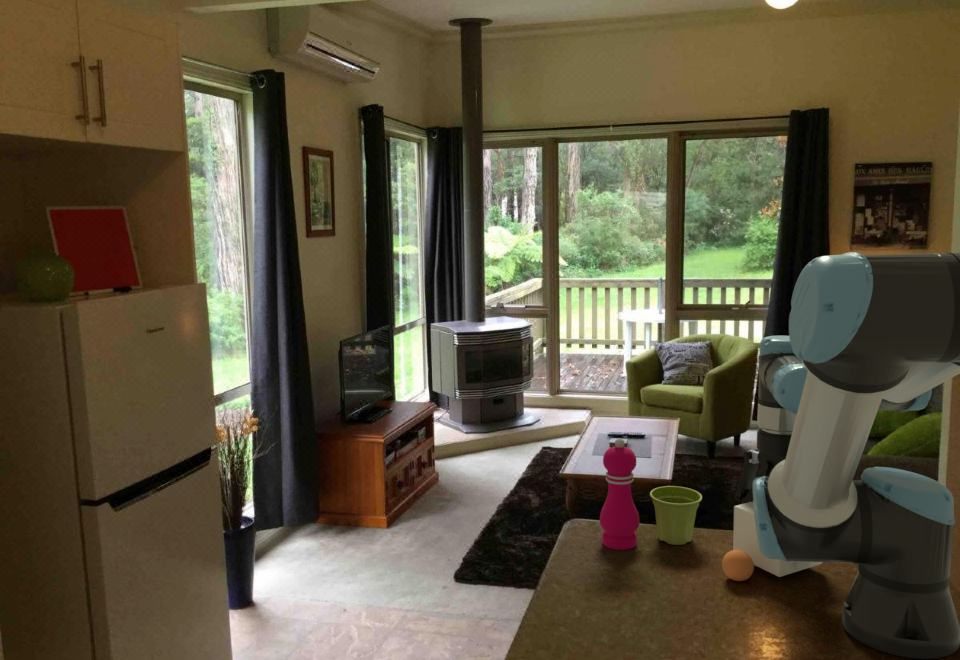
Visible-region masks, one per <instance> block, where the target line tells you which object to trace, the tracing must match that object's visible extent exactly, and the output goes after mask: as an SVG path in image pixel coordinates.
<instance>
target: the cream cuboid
mask: <svg viewBox="0 0 960 660" xmlns="http://www.w3.org/2000/svg"><path fill="white" fill-rule="evenodd" d="M732 537H733V540H732V541H733V543H732V545H733V546H732V550H742V551H744V552H746V553H747V554H748V555H749V556H750V557H751V558H752V560H753V564H754V567H758V568H759V569H762V570H764V571H765V572H768V573H770V574H772V575H775V576H776V577H778V578H781V577H784V576H787V575H790V574H794V573H797V572H800V571H803V570H806V569H809V568H812V567H816V566H818V565H822V564H823V563H824V562H811V564H810V566H807V567H804V568H801V569H797V568H795V562H796V561H789V562H787V561H784V560H779V559H770V558H767V557H765V556H764V555H763V554H762V553H761V551H760V549H759V544H758V538H757V531H756V523H755V514H754V503H753V501H752V502H748V503H744V504H742V503H741V504H738V505H734V506H733V536H732Z"/></svg>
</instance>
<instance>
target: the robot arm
mask: <svg viewBox="0 0 960 660" xmlns="http://www.w3.org/2000/svg"><path fill="white" fill-rule="evenodd" d="M790 305H791V310H790V312H789V315H788V335H769V336H765V337H763V338H762V339H761V340H760V343H759V345H760V346H759V354H758V355H757V358H758V399H757V417H756V419H757V420H756V424H757V426H758V428H757V429H756V448H754V449H749V450H745V451H744V452H743V466H742V469H741V472H740V476H739V478H738V482H737V487H736V489H735V493H734V500H735V501H737V502H740V503H741V504H744V503H748V502H752V501H753V503H754V514H755V523H756V531H757V538H758V544H759V549H760V551H761V553H762V554H763V555H764V556H765V557H767V558H770V559H779V560H784V561H787V562H789V561H796V562H795V568H797V569H801V568H804V567H807V566H810V564H811V562H823V563H839V564H841V563H843V564H857V574H856V575H855V578H854V581H853V582H852V585H851V586H850V589H849V592H848V594H847V596H846V599H845V600H844V602H843V606H842V615H841V616H842V618H841V621H842V626H843V628H844V630H845V631H846V632H847V633H848V634H849V635H850V636H851V637H852V638H854V639H855V640H857V642H860V643H862V644H863V645H866V646H868V647H869V648H872V649H874V650H877V651H880V652H883V653H886V654H889V655H893V656H896V657H897V656H898V657H902V658H909V659H920V660H932V659H940V658H941V659H942V658H946V657H947V656H951V655H953V654H954V653H955V652H956V651H958V650H959V648H960V622H959V619H958V616H957V611H956V608H955V604H954V601H953V598H952V596H951V591H950V575H951V565H952V564H951V562H952V549H953V539H954V538H953V536H954V527H955V526H954V525H955V524H956V519H955V507H954V504H955V499H954V496H953V494H952V492H951V491H950V490H949V489H948V488H947V486H946V485H944V484H942V483H941V482H940V481H937V480H935V479H933V478H931V477H929V476H926V475H924V474H923V475H922V474H920V473H916V472H912V471H908V470H905V469H901V468H895V467H888V466H887V467H886V466H873V467H867V468H865V469H864V470H863V472H862V473H861V475H860V480H859V479H858V480H854V476H855V475H856V471H857V468H858V466H859V463H860V460H861V459H862V455H863V453H864V449H865V447H866V444H867V442H868V439H869V435H870V434H871V433H870V432H871V429H872V428H873V427H872V426H873V425H874V421H875V419H876V416H877V414H878V411H894V412H898V413H899V412H901V413H903V412H908V411H910V412H911V411H920V410H923V409H925V408H926V407H927V406H928V405H929V401H930V400H931V397H932V392H933V389H934V388H936V387H938V386H939V385H941V384H944V383H945V382H947V381H948V380H951V379H953V378H954V377H956V376H957V375H960V252H946V253H945V252H943V253H942V252H941V253H939V252H938V253H937V252H935V253H934V252H933V253H931V252H930V253H896V254H894V253H892V254H862V253H859V252H852V251H851V252H845V253H842V254H832V255H830V254H828V255H821V256H818V257H815V258H813V259H812V260H811V261H809V262H808V263H807V264H806V265H805V266H804V268H802V270H801V272H800V274H799V276H798V277H797V280H796V282H795V285H794V289H793V291H792V295H791V300H790ZM759 465H760V468H759ZM758 469H759V471H758ZM757 472H758V473H757Z"/></svg>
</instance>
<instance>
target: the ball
mask: <svg viewBox="0 0 960 660" xmlns="http://www.w3.org/2000/svg"><path fill="white" fill-rule="evenodd" d="M721 567H722V570H723V573H724V574H725V575H726V576H727V578H729V579H731V580H733V581H734V582H735V581H736V582H743V581H747V580H748V579H749V578H751V576H752V575H753V573H754V570H755V565H754V564H753V560H752V558H751V557H750V556H749V555H748V554H747V553H746V552H744V551H742V550H733V549H732V550H729V551H728V552H726V553H725V555H724V556H723V558H722V562H721Z"/></svg>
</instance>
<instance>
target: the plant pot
mask: <svg viewBox="0 0 960 660" xmlns="http://www.w3.org/2000/svg"><path fill="white" fill-rule="evenodd" d="M649 496H650V499H652V504H653V505H654V513H655V520H656V521H655V522H656V529H657V538H658V539H659V540H660V541H661V542H665V543H667V544H668V545H672V546H673V545H676V546H681V545H685V544H687V543H690V542H691V541H692V540H693V533H694V527H695V522H696V517H697V512H698V511H697V510H698V508H699V507H700V502H702V501H703V495H702V493H700V492H699V491H697V490H695V489H692V488H689V487H684V486H676V485H665V486H658V487H656V488H653V489H652V490H651V491H650V492H649Z"/></svg>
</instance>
